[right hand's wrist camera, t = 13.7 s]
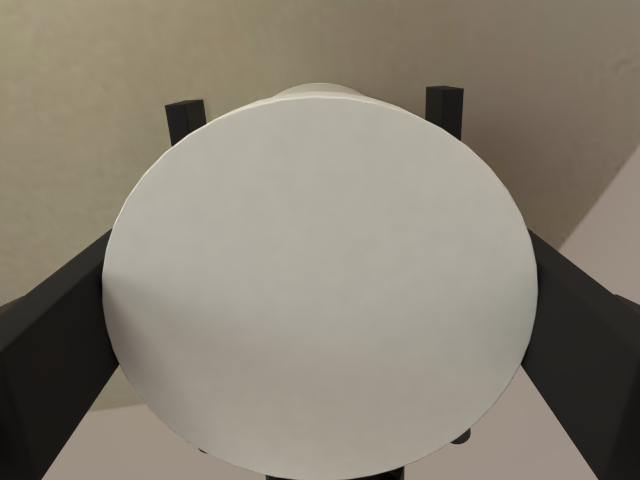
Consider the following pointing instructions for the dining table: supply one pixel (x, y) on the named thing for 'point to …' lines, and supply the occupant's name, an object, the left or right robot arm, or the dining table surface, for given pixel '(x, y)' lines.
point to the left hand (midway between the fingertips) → (313, 95)
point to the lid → (319, 287)
